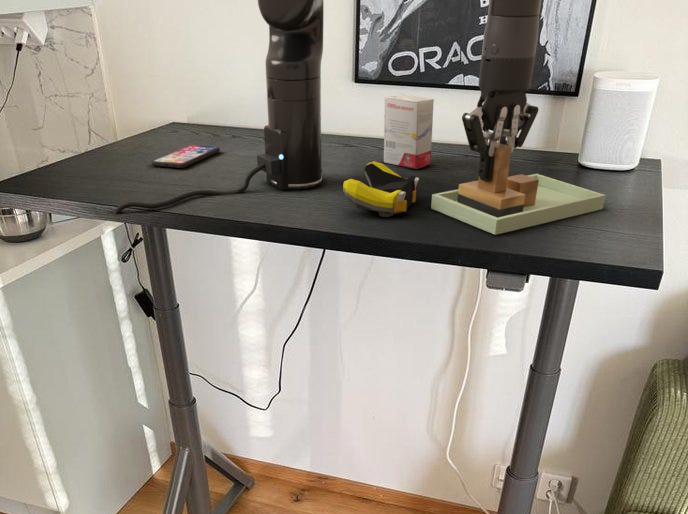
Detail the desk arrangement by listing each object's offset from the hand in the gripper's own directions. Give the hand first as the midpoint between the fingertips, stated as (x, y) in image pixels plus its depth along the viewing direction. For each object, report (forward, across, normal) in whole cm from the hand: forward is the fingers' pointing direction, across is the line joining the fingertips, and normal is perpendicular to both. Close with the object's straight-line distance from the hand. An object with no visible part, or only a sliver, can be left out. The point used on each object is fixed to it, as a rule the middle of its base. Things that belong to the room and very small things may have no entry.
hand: (492, 178), depth 114 cm
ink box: (+6, -8, -33) cm, 35 cm away
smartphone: (+6, +27, -60) cm, 66 cm away
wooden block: (+5, -6, 0) cm, 8 cm away
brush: (+5, 0, 0) cm, 5 cm away
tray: (+6, -6, 0) cm, 8 cm away
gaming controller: (+6, +12, -13) cm, 19 cm away
